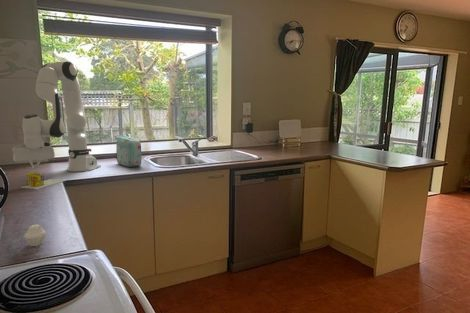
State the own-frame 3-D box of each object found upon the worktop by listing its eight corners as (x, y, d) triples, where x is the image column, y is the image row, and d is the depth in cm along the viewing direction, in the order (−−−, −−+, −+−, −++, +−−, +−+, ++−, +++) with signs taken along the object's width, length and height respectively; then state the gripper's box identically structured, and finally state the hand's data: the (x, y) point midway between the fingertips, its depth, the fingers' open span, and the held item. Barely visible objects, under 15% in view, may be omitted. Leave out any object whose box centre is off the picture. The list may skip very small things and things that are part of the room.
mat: (50, 179, 199) (50, 178, 199) (65, 180, 196) (65, 180, 196) (20, 187, 180) (20, 187, 180) (36, 189, 177) (36, 188, 177)
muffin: (21, 245, 109) (19, 225, 108) (41, 239, 114) (39, 219, 113) (31, 250, 106) (29, 229, 104) (50, 243, 111) (48, 223, 109)
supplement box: (26, 173, 187) (31, 176, 179) (38, 171, 191) (43, 174, 183) (27, 183, 188) (32, 187, 180) (39, 181, 192) (44, 185, 184)
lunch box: (114, 163, 251) (112, 135, 248) (127, 162, 258) (126, 134, 254) (129, 169, 232) (128, 138, 228) (143, 167, 239) (142, 137, 235)
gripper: (13, 146, 177) (16, 171, 179) (54, 142, 192) (56, 166, 194) (10, 144, 181) (12, 169, 184) (50, 141, 196) (52, 165, 198)
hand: (35, 168), depth 189 cm, fingers closed
